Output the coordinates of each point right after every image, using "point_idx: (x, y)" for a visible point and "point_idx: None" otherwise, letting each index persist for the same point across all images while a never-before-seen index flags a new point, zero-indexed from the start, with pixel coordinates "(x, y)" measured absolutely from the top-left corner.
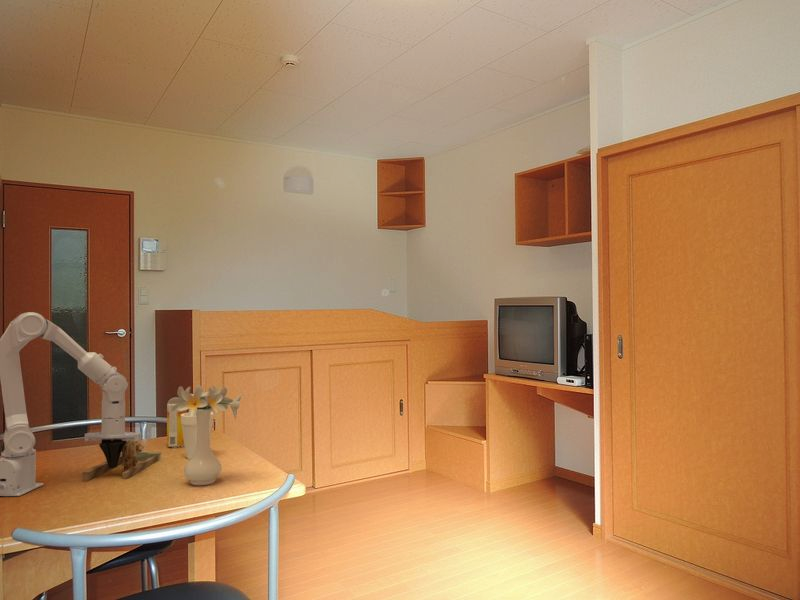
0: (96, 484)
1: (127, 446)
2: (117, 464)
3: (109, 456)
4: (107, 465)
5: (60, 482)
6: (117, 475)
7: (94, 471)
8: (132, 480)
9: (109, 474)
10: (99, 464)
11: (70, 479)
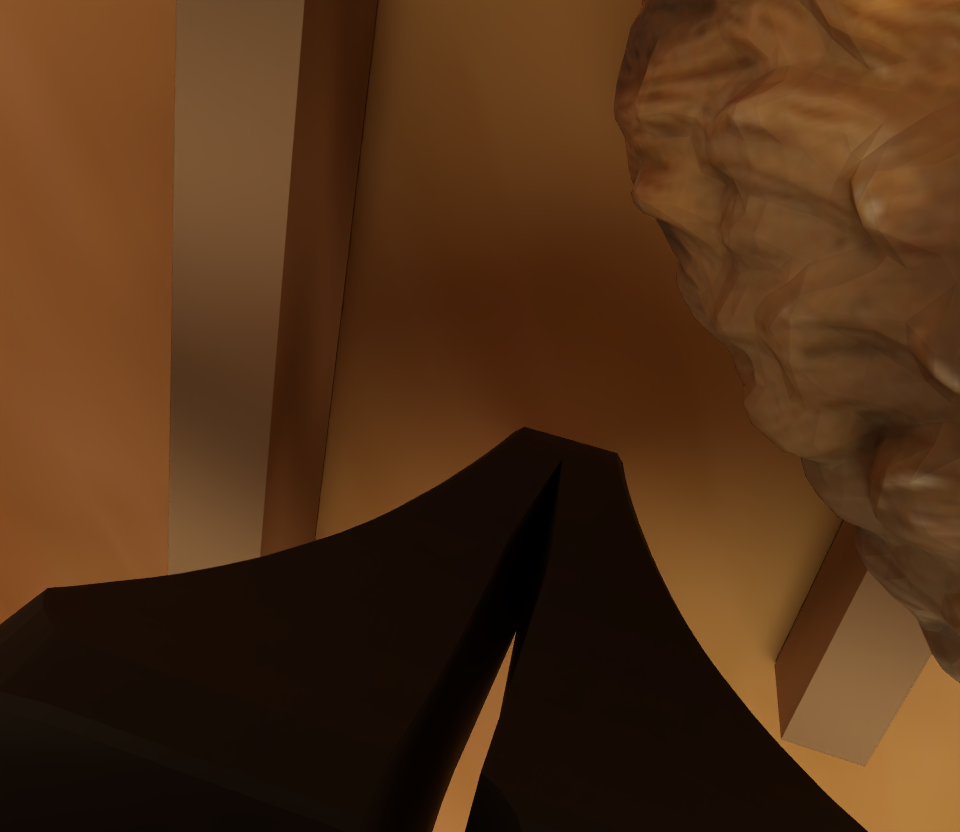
0: (476, 778)
1: (937, 635)
2: (623, 476)
3: (447, 781)
4: (325, 53)
5: (8, 556)
6: (654, 429)
7: (279, 518)
8: (956, 780)
9: (493, 324)
10: (183, 178)
11: (43, 456)
